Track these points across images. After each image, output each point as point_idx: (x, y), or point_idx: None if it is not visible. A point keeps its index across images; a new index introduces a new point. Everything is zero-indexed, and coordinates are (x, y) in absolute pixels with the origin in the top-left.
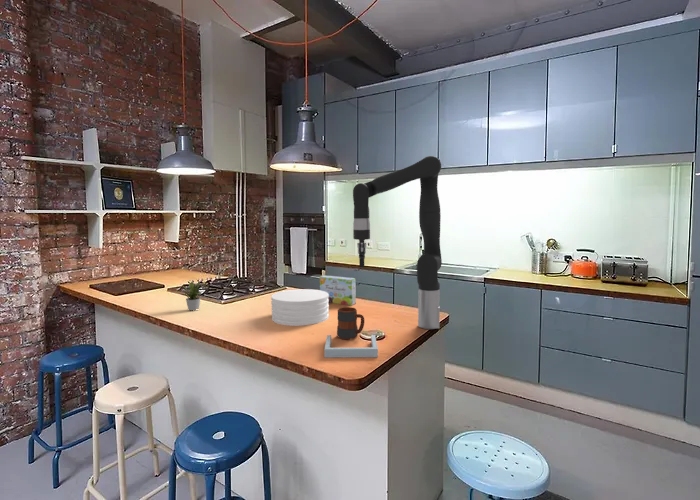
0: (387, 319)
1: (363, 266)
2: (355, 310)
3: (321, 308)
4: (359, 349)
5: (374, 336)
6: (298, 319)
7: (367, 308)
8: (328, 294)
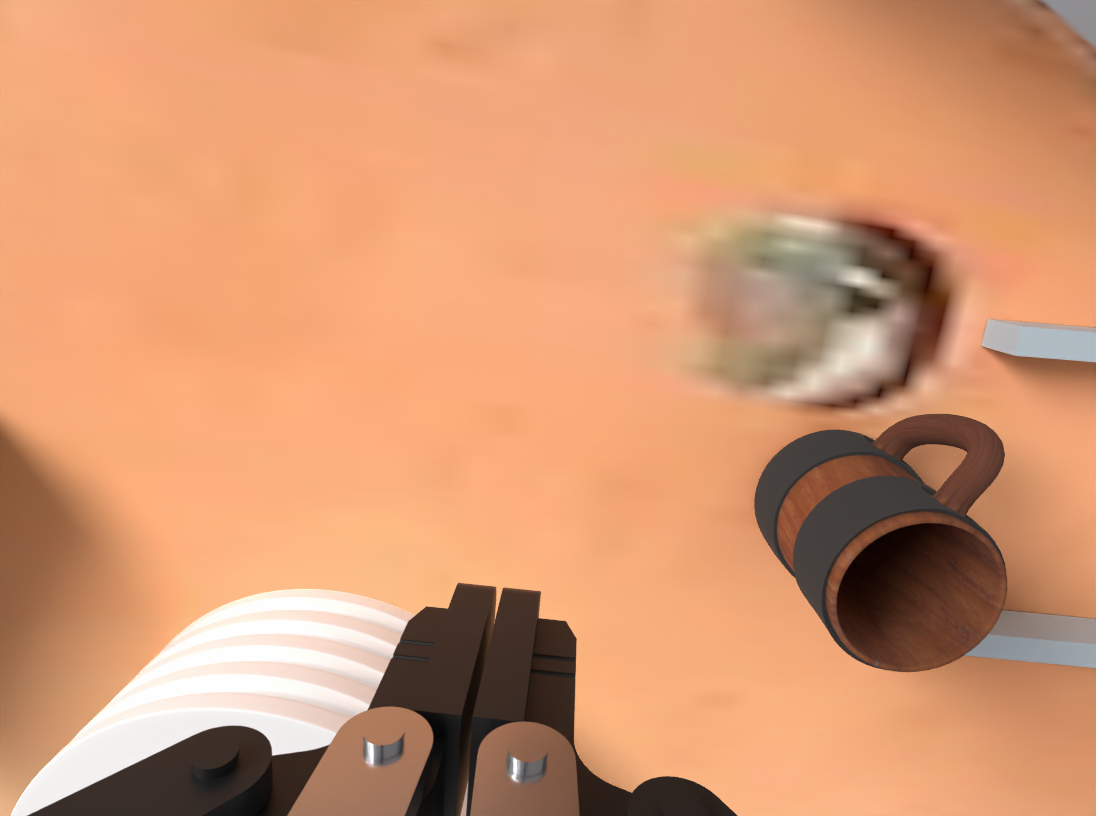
0: (413, 119)
1: (538, 608)
2: (972, 526)
3: None
4: None
5: (1059, 336)
6: None
7: (46, 255)
8: (230, 709)
